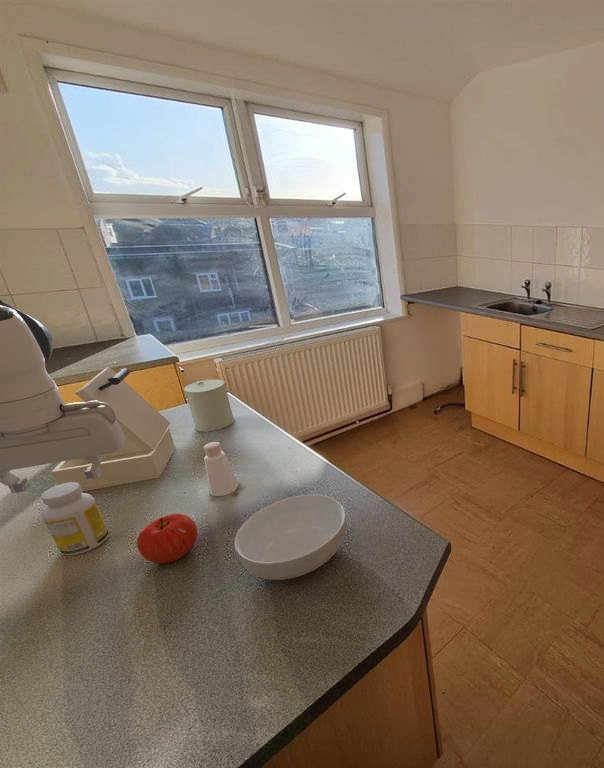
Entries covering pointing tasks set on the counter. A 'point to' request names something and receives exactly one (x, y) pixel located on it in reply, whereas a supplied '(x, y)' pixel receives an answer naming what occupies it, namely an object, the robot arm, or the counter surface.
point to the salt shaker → (218, 471)
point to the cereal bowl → (291, 536)
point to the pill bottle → (73, 519)
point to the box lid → (127, 408)
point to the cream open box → (119, 465)
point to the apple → (167, 538)
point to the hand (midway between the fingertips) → (59, 483)
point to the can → (209, 405)
